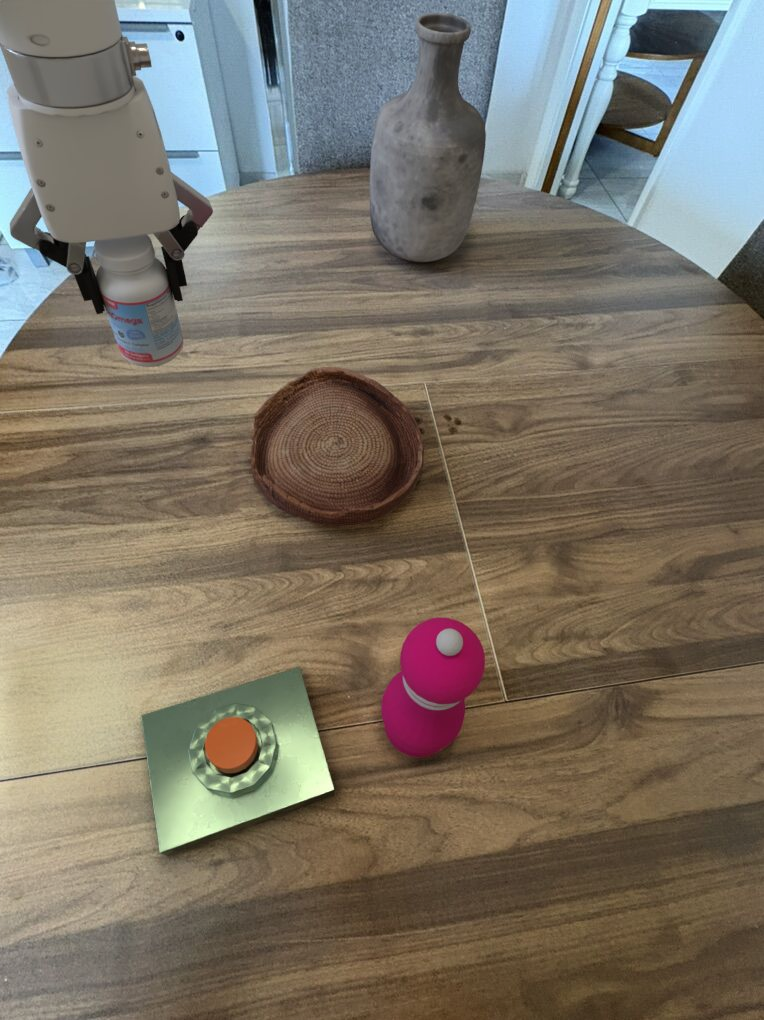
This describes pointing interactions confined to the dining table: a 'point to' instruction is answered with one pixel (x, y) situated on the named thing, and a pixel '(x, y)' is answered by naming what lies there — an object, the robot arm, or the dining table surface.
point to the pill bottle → (138, 300)
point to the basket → (335, 448)
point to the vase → (427, 151)
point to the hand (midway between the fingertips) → (138, 296)
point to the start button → (231, 745)
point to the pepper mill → (432, 686)
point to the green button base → (246, 794)
